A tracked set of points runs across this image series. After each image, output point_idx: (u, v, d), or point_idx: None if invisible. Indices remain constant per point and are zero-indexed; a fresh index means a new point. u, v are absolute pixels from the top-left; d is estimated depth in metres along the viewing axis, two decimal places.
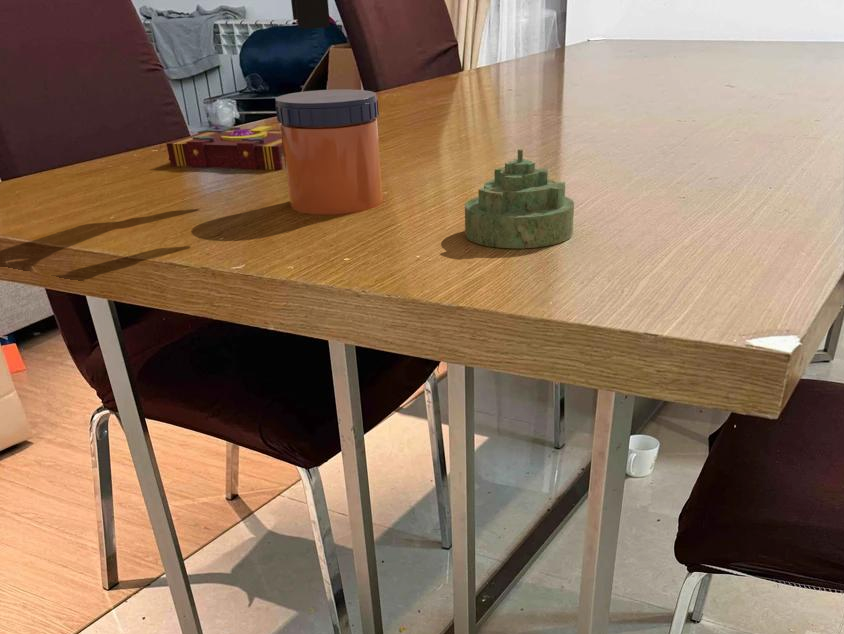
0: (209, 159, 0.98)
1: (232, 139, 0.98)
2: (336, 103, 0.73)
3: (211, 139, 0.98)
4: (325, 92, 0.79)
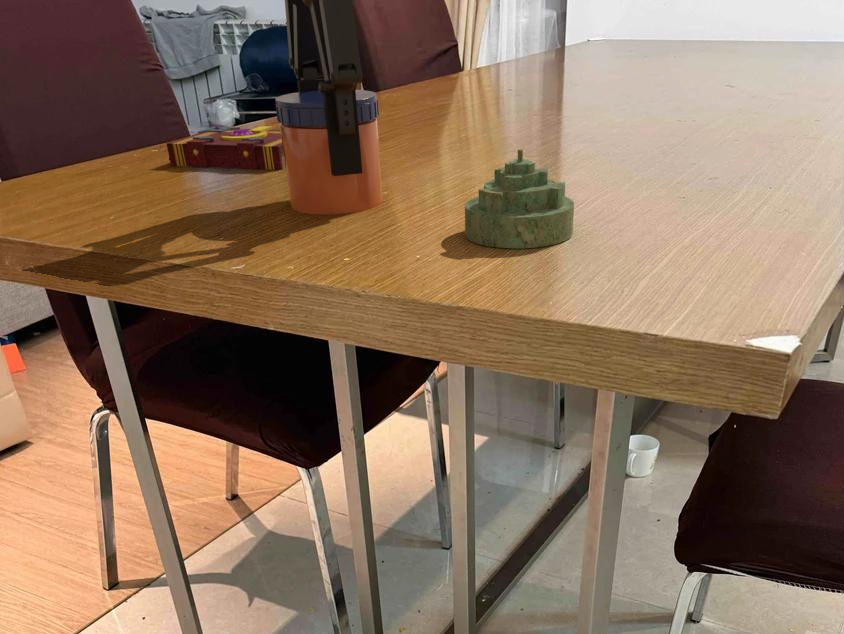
0: (209, 158, 0.98)
1: (232, 139, 0.98)
2: None
3: (211, 139, 0.98)
4: None
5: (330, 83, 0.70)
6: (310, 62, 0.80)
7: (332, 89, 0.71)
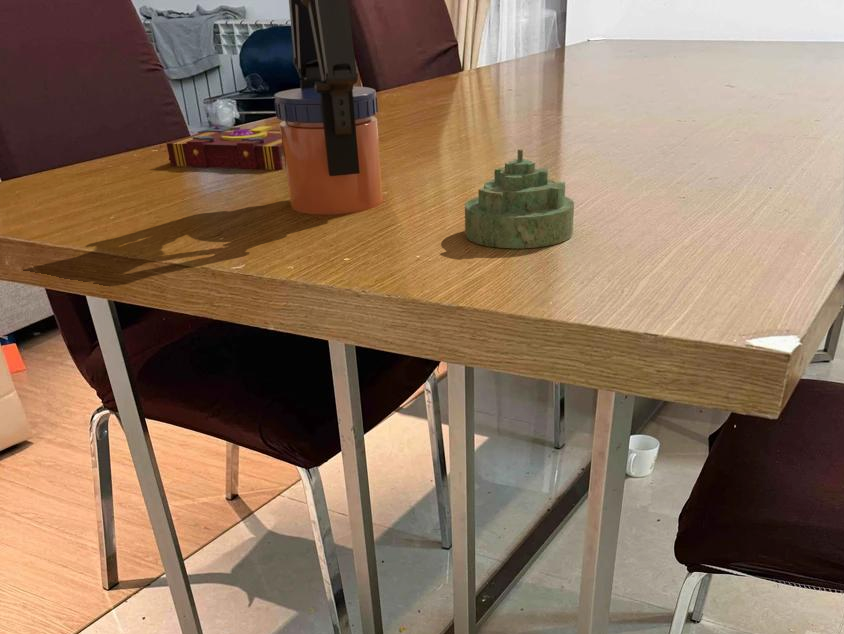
0: (209, 159, 0.98)
1: (232, 139, 0.98)
2: None
3: (211, 139, 0.98)
4: None
5: None
6: None
7: None
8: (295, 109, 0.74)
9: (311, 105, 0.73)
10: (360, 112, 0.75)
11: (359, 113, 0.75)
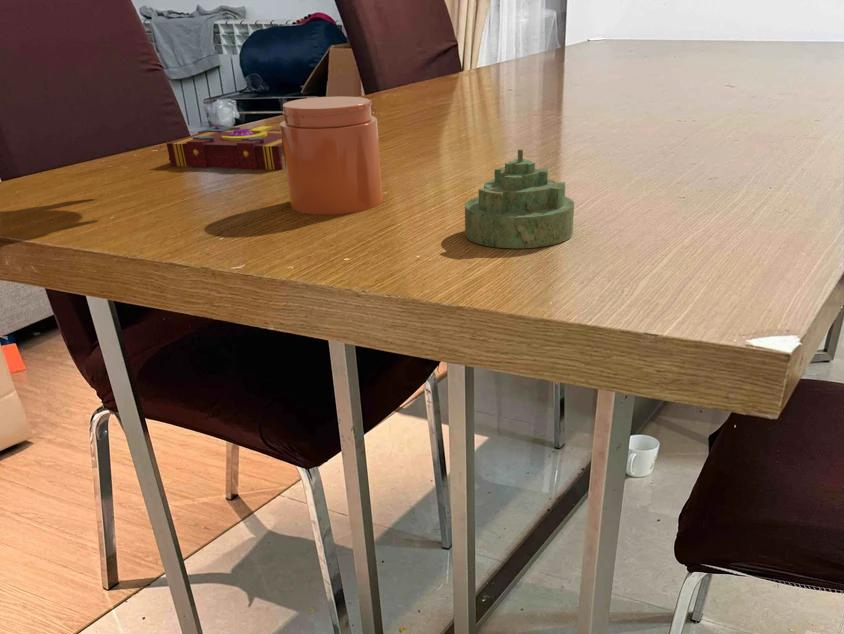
0: (209, 159, 0.98)
1: (232, 139, 0.98)
2: None
3: (211, 139, 0.98)
4: None
5: None
6: None
7: None
8: None
9: None
10: None
11: None
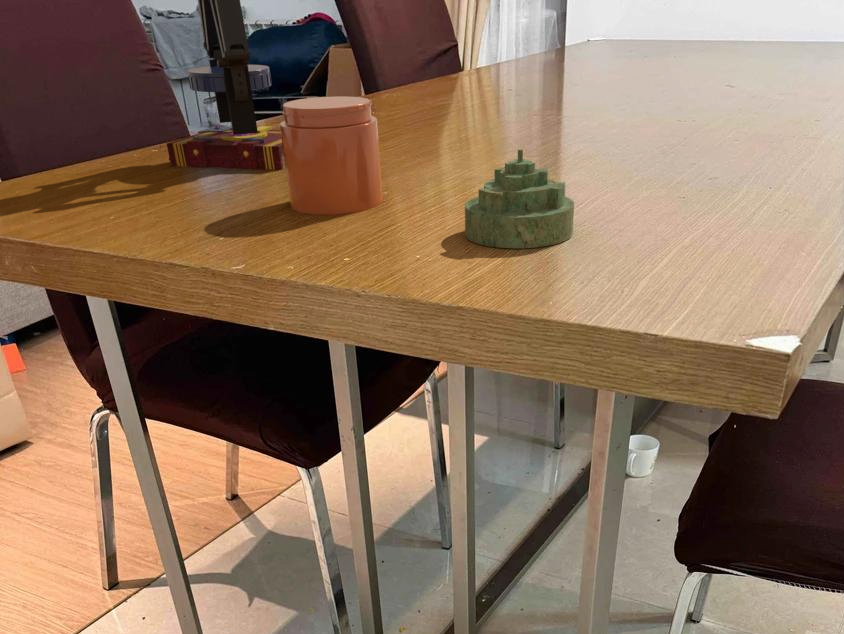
0: (209, 159, 0.98)
1: (232, 139, 0.98)
2: None
3: (211, 139, 0.98)
4: None
5: None
6: None
7: None
8: (204, 81, 0.93)
9: (216, 78, 0.93)
10: (256, 84, 0.95)
11: (256, 85, 0.95)
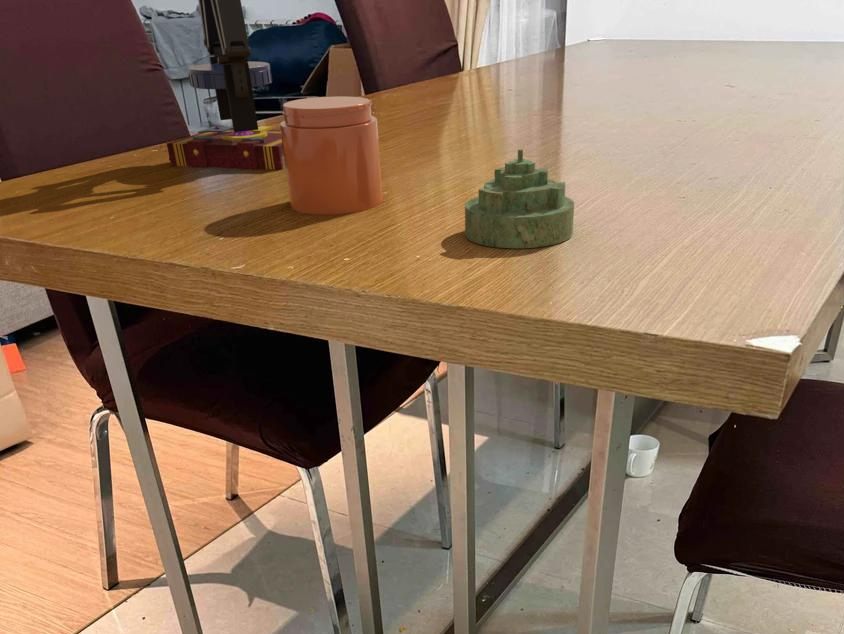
0: (209, 158, 0.98)
1: (232, 139, 0.98)
2: None
3: (211, 139, 0.98)
4: None
5: None
6: None
7: None
8: (204, 78, 0.93)
9: (217, 75, 0.93)
10: (256, 80, 0.95)
11: (256, 81, 0.95)
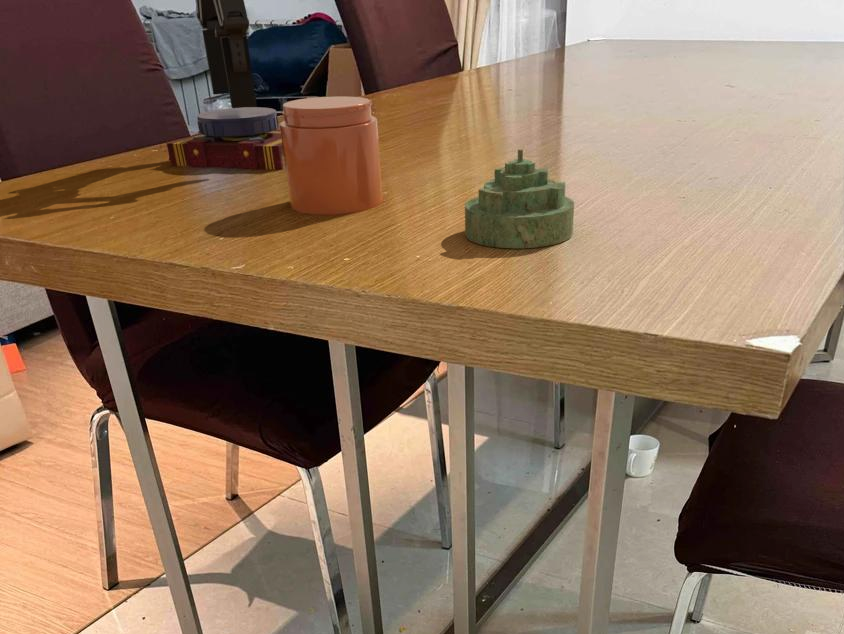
0: (210, 158, 0.98)
1: (232, 139, 0.98)
2: None
3: (211, 139, 0.98)
4: (235, 116, 0.97)
5: None
6: None
7: None
8: (213, 126, 0.96)
9: (225, 123, 0.96)
10: (264, 128, 0.97)
11: (263, 129, 0.97)
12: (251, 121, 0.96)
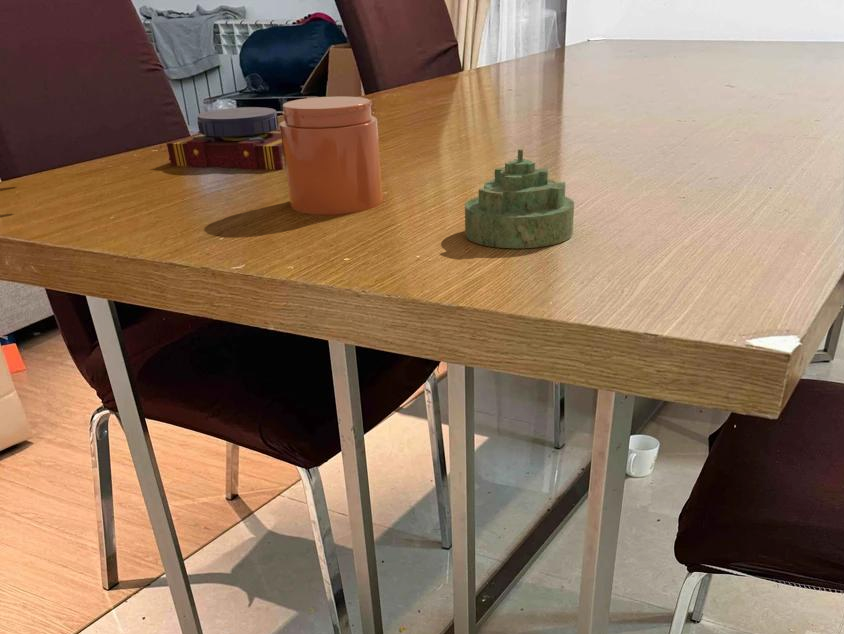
0: (210, 158, 0.98)
1: (232, 139, 0.98)
2: None
3: (211, 139, 0.98)
4: (235, 116, 0.97)
5: None
6: None
7: None
8: (213, 126, 0.96)
9: (225, 123, 0.96)
10: (264, 128, 0.97)
11: (263, 129, 0.97)
12: (251, 121, 0.96)
